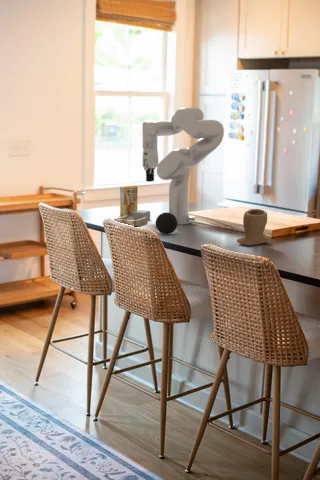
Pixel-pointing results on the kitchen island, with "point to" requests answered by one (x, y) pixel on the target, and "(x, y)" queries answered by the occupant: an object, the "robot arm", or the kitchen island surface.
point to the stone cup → (254, 227)
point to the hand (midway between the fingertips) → (150, 180)
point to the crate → (141, 215)
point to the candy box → (128, 200)
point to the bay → (131, 221)
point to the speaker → (166, 223)
